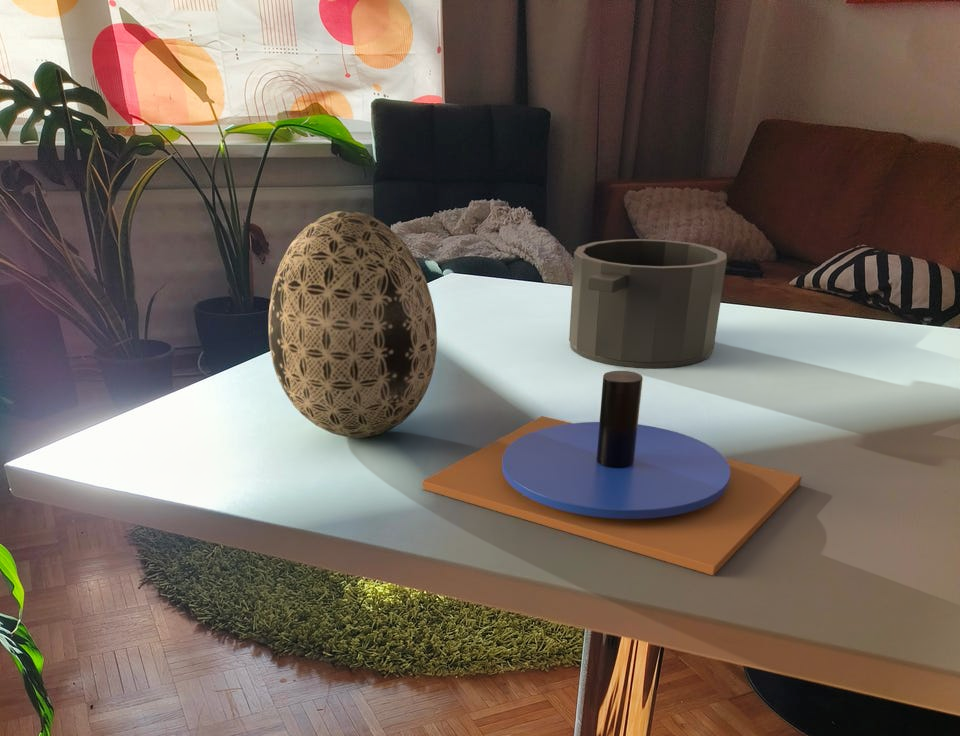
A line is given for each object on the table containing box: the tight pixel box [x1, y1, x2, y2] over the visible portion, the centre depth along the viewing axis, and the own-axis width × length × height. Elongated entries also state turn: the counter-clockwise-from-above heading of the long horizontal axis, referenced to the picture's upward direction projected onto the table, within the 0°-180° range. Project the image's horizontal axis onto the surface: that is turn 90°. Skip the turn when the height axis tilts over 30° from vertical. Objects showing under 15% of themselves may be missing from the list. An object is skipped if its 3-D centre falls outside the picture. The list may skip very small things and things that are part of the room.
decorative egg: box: [268, 210, 438, 439], centre depth 62 cm, size 12×12×15 cm
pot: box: [568, 238, 728, 369], centre depth 83 cm, size 14×19×8 cm
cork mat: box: [422, 415, 803, 576], centre depth 58 cm, size 20×15×1 cm
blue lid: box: [502, 370, 731, 519], centre depth 56 cm, size 15×15×7 cm
